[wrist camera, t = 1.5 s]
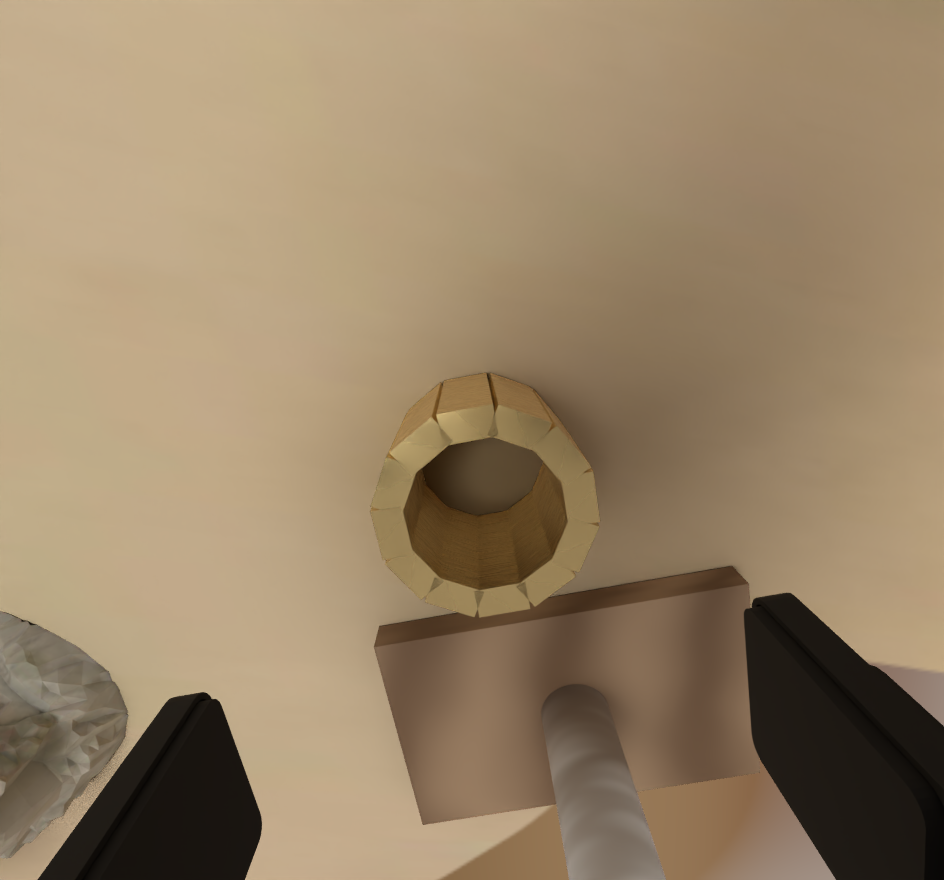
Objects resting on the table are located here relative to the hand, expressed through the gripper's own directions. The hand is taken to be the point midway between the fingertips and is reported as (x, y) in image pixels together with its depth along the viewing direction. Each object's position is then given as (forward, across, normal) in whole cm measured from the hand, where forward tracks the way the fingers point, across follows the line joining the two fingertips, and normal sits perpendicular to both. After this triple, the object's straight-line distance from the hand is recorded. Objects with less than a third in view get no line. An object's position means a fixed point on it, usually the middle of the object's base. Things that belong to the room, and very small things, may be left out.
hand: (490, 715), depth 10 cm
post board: (+14, -2, +12) cm, 18 cm away
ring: (+14, 0, 0) cm, 14 cm away
